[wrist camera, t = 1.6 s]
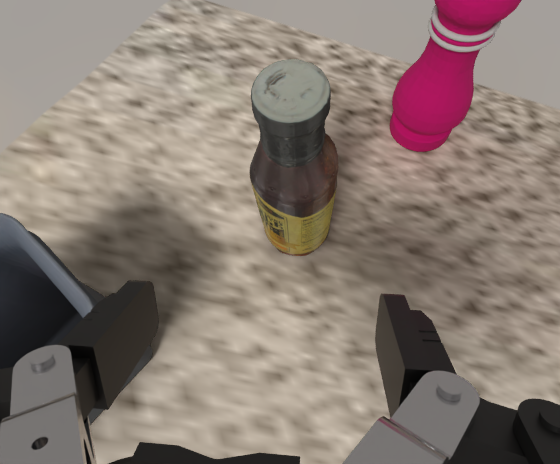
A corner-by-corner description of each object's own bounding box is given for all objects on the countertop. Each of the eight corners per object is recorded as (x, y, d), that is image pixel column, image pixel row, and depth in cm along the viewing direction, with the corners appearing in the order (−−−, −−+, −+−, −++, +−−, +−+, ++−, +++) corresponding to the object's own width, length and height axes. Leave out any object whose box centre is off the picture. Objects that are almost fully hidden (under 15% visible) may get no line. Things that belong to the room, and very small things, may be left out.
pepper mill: (467, 132, 40) (604, -87, 21) (417, 168, 39) (516, -30, 20) (419, 91, 42) (503, -135, 24) (371, 124, 41) (420, -88, 23)
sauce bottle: (259, 211, 38) (212, 50, 20) (318, 195, 38) (325, 21, 20) (276, 270, 36) (239, 149, 17) (338, 253, 36) (368, 114, 17)
